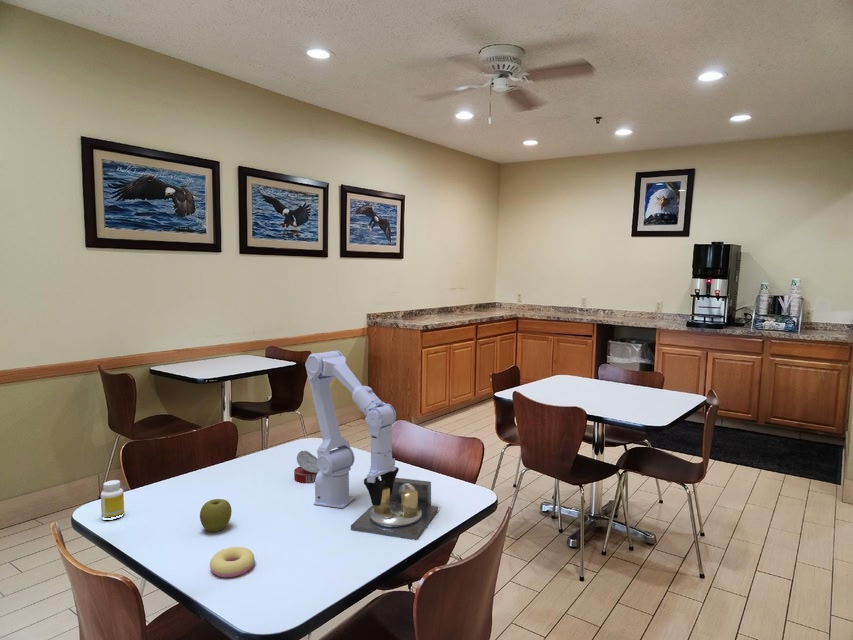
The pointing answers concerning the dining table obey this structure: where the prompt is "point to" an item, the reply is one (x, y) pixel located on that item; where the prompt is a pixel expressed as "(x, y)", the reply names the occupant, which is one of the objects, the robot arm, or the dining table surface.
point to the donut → (232, 562)
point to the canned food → (306, 468)
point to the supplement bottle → (112, 499)
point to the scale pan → (394, 516)
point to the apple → (215, 514)
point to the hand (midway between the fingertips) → (382, 499)
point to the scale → (399, 485)
